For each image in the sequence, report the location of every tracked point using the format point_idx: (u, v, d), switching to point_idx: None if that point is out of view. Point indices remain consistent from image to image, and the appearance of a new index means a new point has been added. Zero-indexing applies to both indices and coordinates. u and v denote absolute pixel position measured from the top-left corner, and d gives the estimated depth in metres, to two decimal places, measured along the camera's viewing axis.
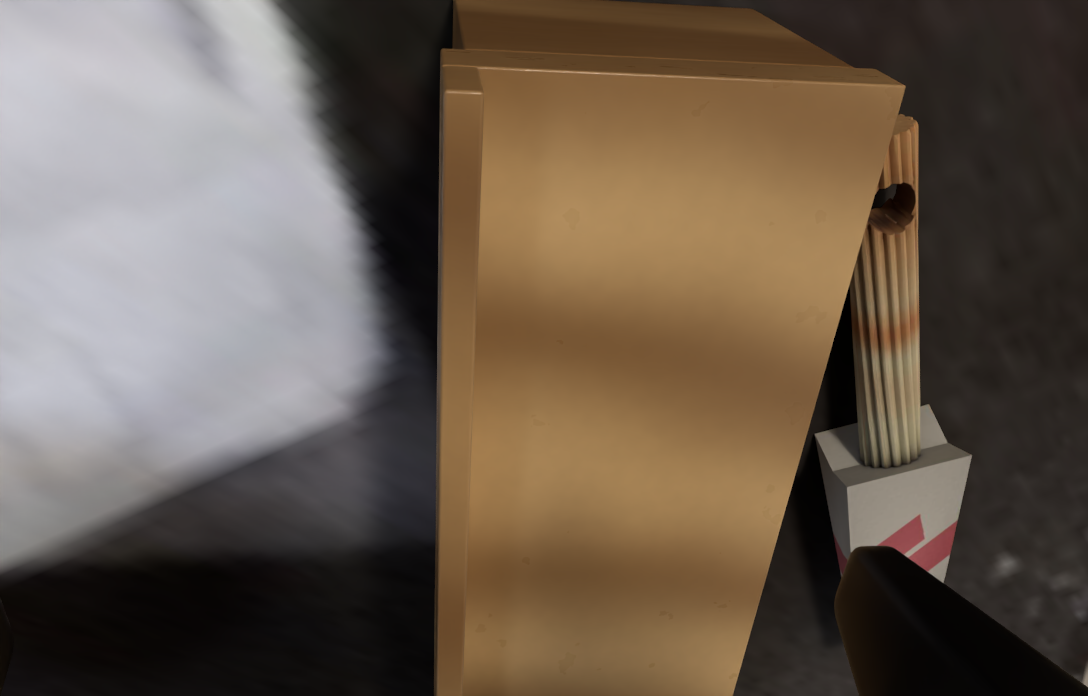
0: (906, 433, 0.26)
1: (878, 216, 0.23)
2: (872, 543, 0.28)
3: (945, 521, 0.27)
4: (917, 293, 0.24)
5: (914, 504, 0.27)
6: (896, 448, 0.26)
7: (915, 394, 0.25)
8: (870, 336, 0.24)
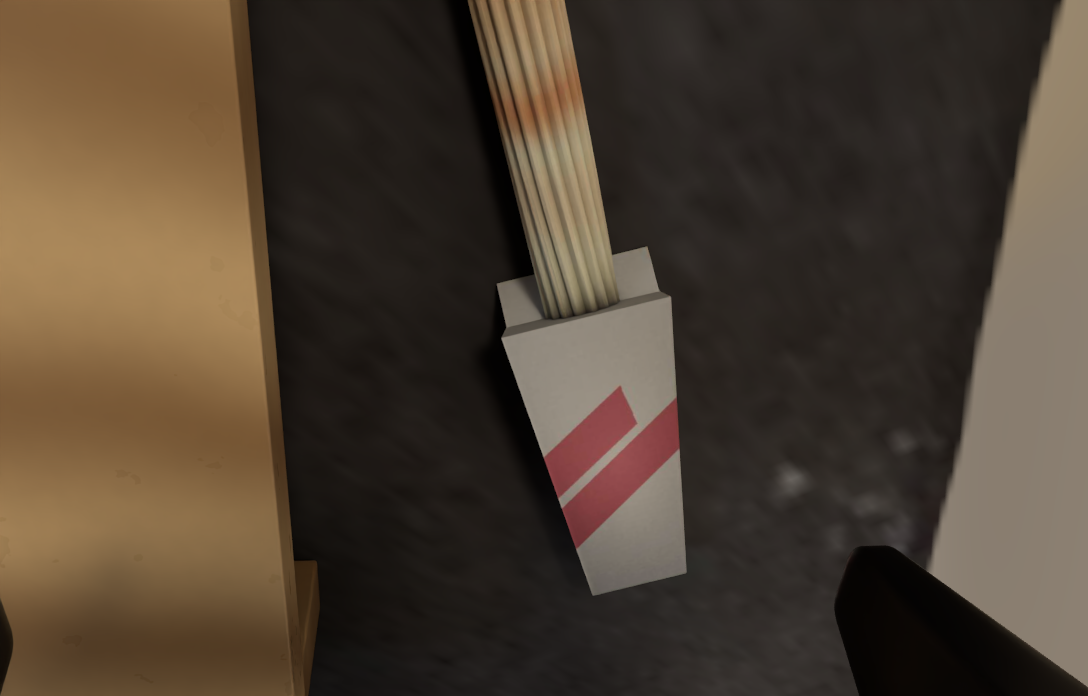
0: (581, 265, 0.19)
1: None
2: (564, 427, 0.21)
3: (659, 398, 0.21)
4: (565, 49, 0.17)
5: (607, 368, 0.20)
6: (571, 287, 0.19)
7: (589, 208, 0.18)
8: (506, 115, 0.17)
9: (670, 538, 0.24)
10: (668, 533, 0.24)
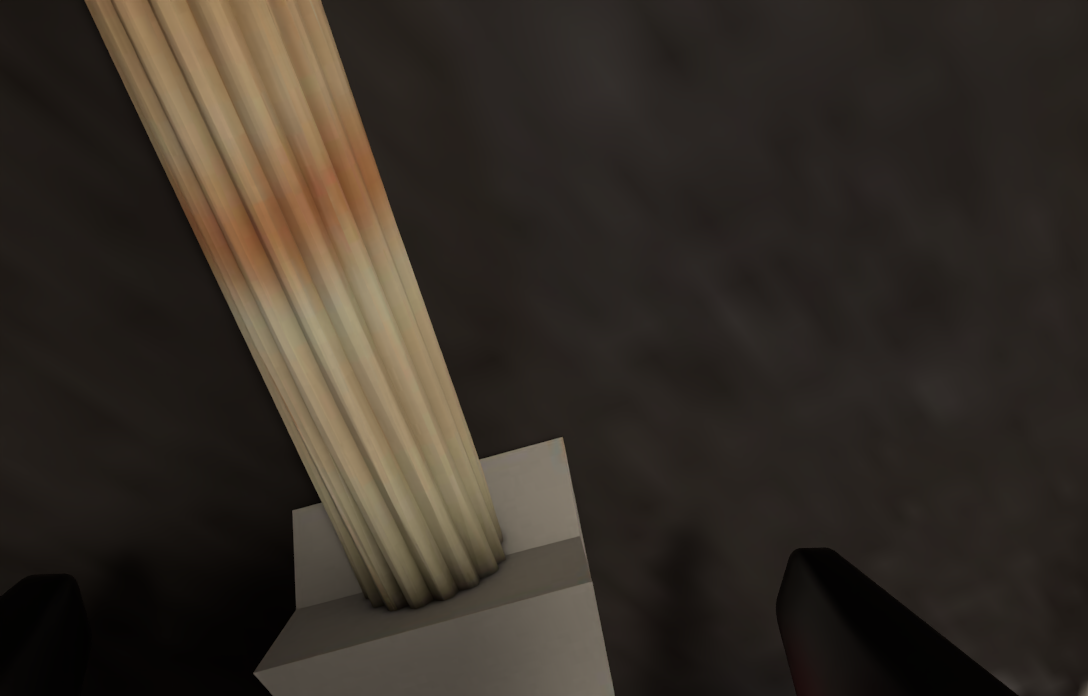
0: (411, 524, 0.09)
1: None
2: None
3: None
4: (321, 99, 0.08)
5: None
6: (396, 561, 0.10)
7: (416, 416, 0.09)
8: (206, 243, 0.08)
9: None
10: None
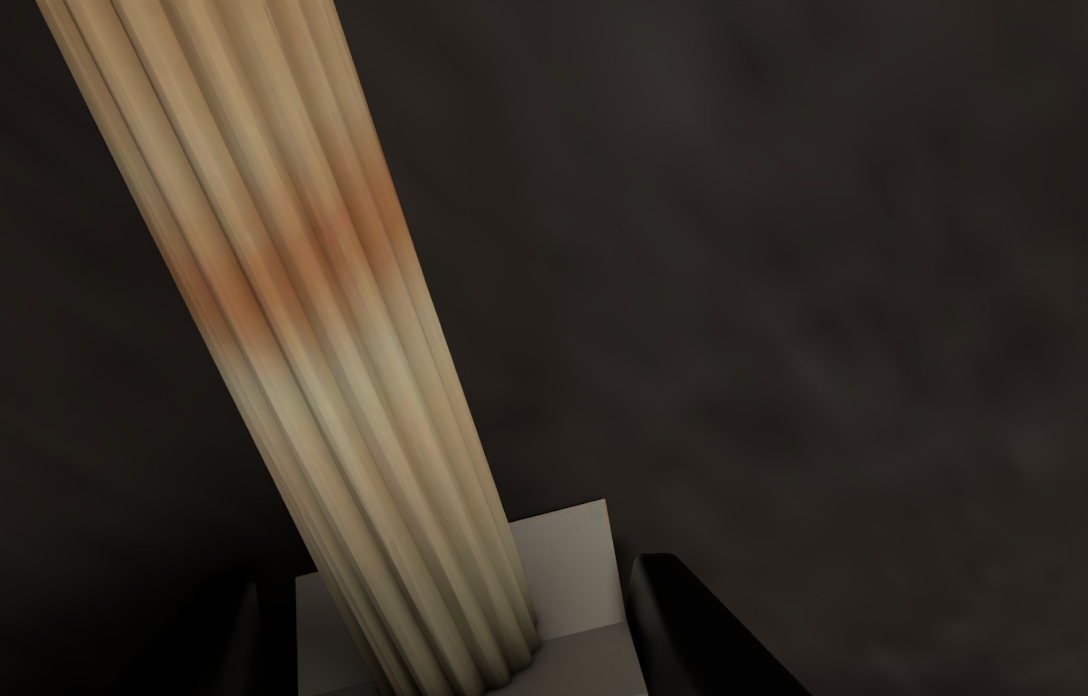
0: (434, 621, 0.08)
1: None
2: None
3: None
4: (332, 124, 0.06)
5: None
6: (415, 661, 0.08)
7: (443, 498, 0.08)
8: (190, 299, 0.06)
9: None
10: None
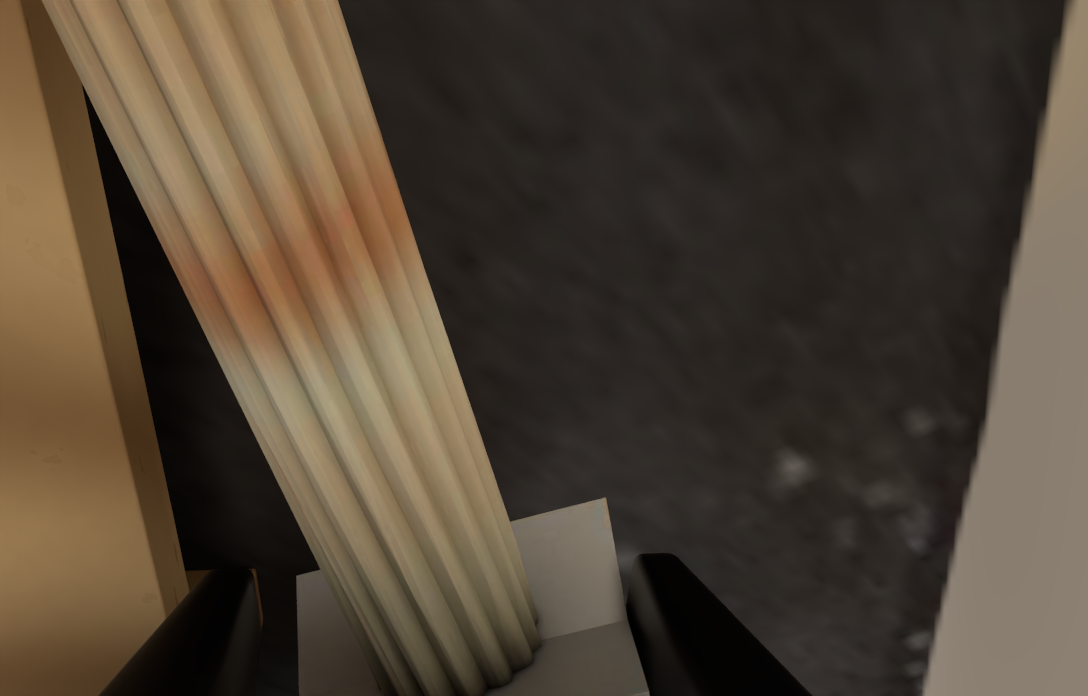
0: (435, 619, 0.08)
1: None
2: None
3: None
4: (336, 122, 0.06)
5: None
6: (416, 660, 0.08)
7: (445, 496, 0.08)
8: (193, 296, 0.06)
9: None
10: None
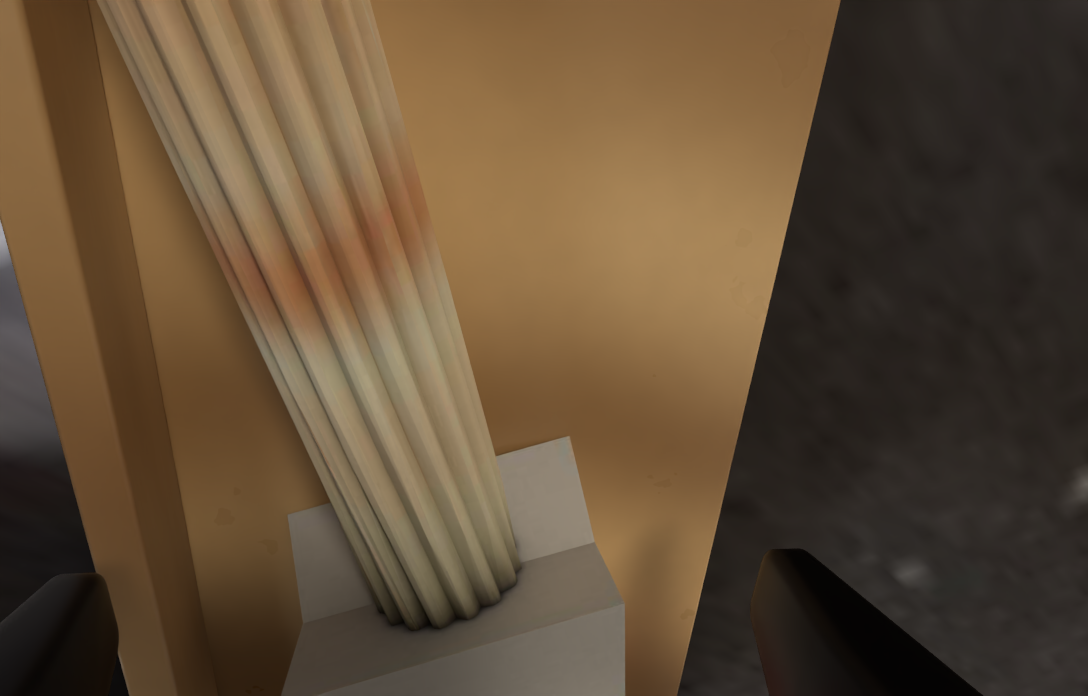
0: (443, 553, 0.09)
1: None
2: None
3: None
4: (380, 132, 0.07)
5: None
6: (424, 587, 0.09)
7: (454, 450, 0.09)
8: (240, 286, 0.07)
9: None
10: None
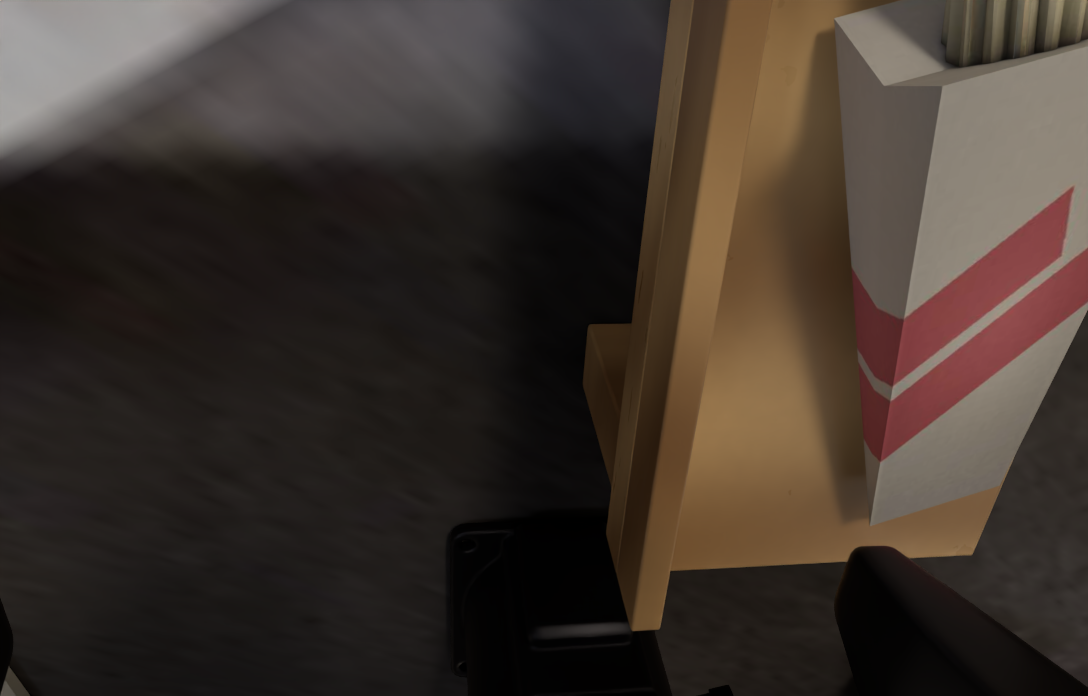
0: None
1: None
2: (958, 263, 0.12)
3: None
4: None
5: (1071, 153, 0.11)
6: None
7: None
8: None
9: (1007, 438, 0.16)
10: (1008, 431, 0.16)
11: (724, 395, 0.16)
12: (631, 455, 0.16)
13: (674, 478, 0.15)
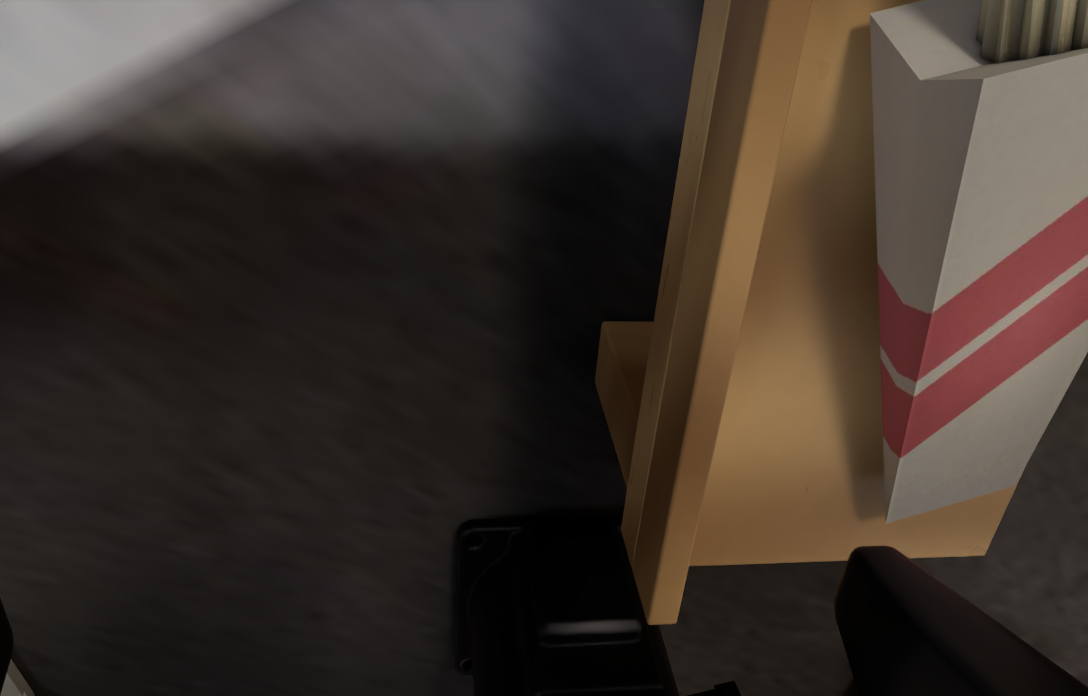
0: None
1: None
2: (988, 259, 0.12)
3: None
4: None
5: None
6: None
7: None
8: None
9: (1024, 438, 0.16)
10: (1026, 430, 0.16)
11: (746, 390, 0.16)
12: (652, 449, 0.16)
13: (697, 470, 0.15)
